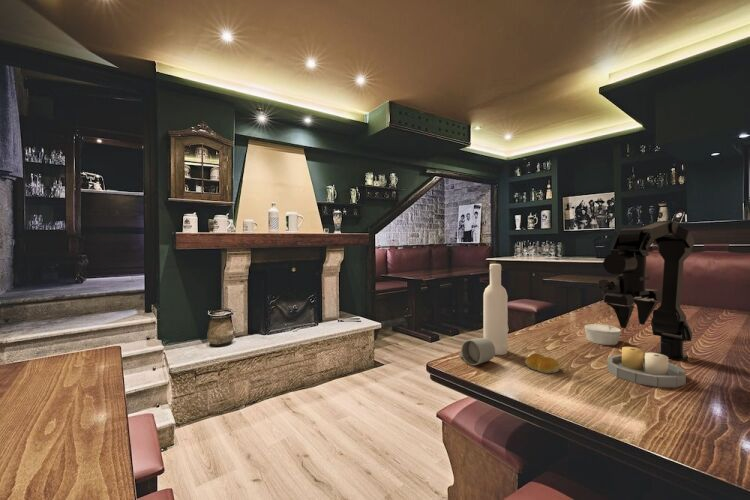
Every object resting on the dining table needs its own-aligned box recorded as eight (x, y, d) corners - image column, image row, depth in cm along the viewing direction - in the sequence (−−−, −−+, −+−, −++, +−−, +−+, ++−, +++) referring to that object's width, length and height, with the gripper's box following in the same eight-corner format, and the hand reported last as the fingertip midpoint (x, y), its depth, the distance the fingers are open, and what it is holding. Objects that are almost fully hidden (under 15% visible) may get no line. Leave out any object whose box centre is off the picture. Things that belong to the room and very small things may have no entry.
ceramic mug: (497, 362, 109) (496, 338, 108) (480, 368, 104) (480, 343, 104) (469, 354, 117) (469, 331, 117) (453, 359, 112) (452, 335, 112)
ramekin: (628, 346, 123) (628, 331, 123) (596, 346, 123) (596, 331, 123) (607, 337, 134) (607, 323, 134) (578, 337, 134) (578, 324, 134)
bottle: (500, 357, 113) (500, 265, 112) (478, 351, 119) (478, 264, 118) (512, 351, 119) (512, 264, 118) (491, 346, 125) (491, 262, 124)
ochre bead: (627, 362, 104) (628, 345, 104) (646, 367, 100) (647, 350, 99) (617, 365, 102) (618, 348, 102) (637, 371, 97) (637, 353, 97)
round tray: (628, 359, 110) (628, 351, 109) (697, 379, 94) (697, 369, 94) (594, 369, 102) (594, 360, 102) (663, 392, 87) (663, 382, 86)
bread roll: (552, 376, 98) (552, 362, 98) (521, 367, 105) (521, 354, 105) (565, 369, 103) (565, 356, 103) (535, 361, 110) (535, 348, 110)
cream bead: (650, 368, 99) (650, 351, 99) (671, 375, 94) (672, 356, 94) (640, 372, 97) (641, 354, 96) (661, 378, 92) (662, 359, 92)
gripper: (622, 268, 111) (621, 317, 112) (585, 271, 103) (584, 324, 103) (663, 271, 101) (662, 324, 102) (626, 275, 93) (625, 333, 93)
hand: (632, 326), depth 100 cm, fingers open, 9 cm apart
